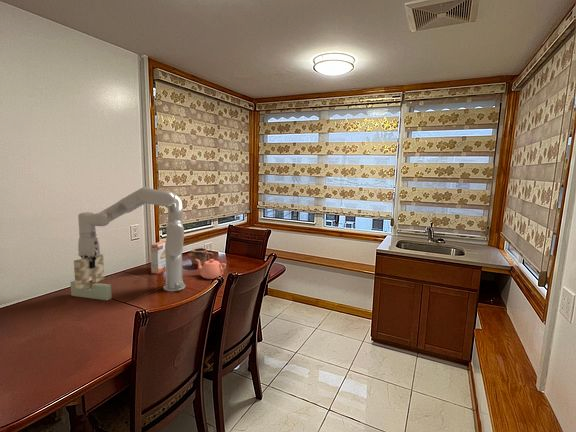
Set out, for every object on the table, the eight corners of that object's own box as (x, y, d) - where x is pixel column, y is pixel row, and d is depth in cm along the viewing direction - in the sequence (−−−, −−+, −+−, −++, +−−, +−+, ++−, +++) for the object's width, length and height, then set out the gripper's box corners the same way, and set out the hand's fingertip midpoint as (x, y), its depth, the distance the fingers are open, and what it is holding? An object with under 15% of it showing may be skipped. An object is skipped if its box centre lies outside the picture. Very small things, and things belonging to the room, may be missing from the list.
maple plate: (100, 278, 177) (98, 253, 175) (104, 278, 176) (103, 253, 174) (75, 288, 161) (73, 260, 159) (80, 288, 161) (78, 261, 159)
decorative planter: (215, 265, 235) (215, 247, 233) (212, 270, 223) (212, 251, 221) (189, 264, 234) (189, 247, 232) (185, 269, 222) (184, 251, 220)
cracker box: (158, 274, 210) (157, 245, 208) (150, 273, 212) (150, 244, 209) (170, 268, 224) (169, 240, 221) (163, 267, 225) (162, 240, 222)
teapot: (190, 278, 203) (190, 261, 202) (200, 272, 218) (200, 255, 216) (222, 281, 200) (222, 263, 199) (229, 274, 215) (229, 257, 213)
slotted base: (111, 298, 169) (110, 284, 168) (107, 300, 166) (106, 286, 165) (76, 293, 174) (75, 280, 173) (71, 295, 171) (70, 281, 170)
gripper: (105, 234, 167) (107, 267, 169) (81, 232, 170) (83, 264, 173) (94, 237, 160) (96, 271, 162) (69, 235, 163) (71, 268, 166)
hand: (89, 267), depth 167 cm, fingers closed on maple plate, 3 cm apart
